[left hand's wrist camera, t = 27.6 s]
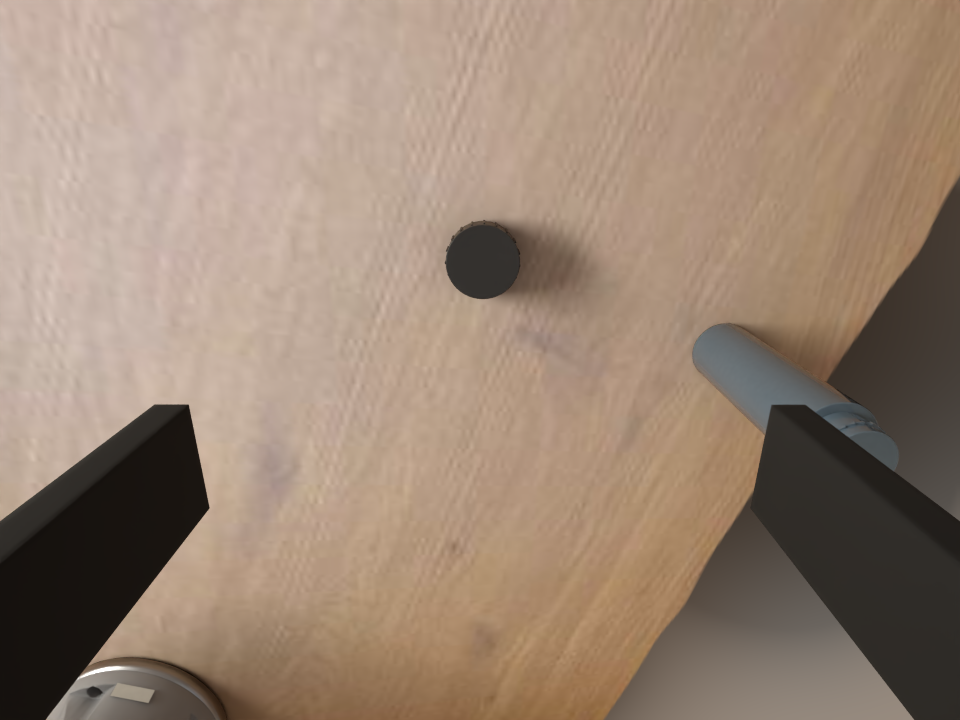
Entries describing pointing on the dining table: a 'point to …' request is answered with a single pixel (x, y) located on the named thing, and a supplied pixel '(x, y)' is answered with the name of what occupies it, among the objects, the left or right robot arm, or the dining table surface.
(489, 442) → the dining table surface
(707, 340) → the bottle
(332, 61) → the dining table surface
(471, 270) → the lid
